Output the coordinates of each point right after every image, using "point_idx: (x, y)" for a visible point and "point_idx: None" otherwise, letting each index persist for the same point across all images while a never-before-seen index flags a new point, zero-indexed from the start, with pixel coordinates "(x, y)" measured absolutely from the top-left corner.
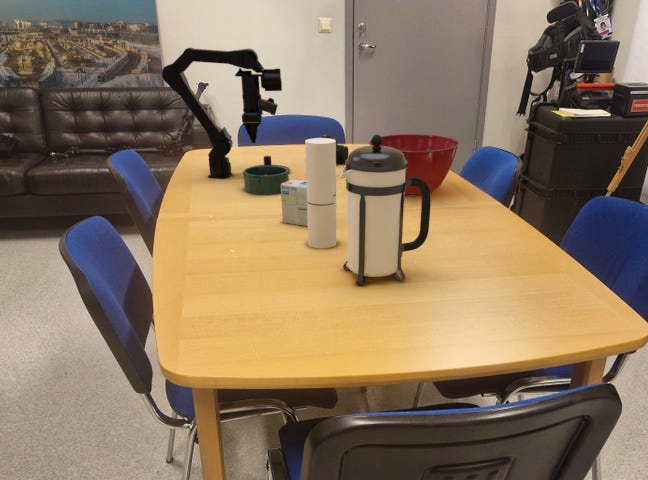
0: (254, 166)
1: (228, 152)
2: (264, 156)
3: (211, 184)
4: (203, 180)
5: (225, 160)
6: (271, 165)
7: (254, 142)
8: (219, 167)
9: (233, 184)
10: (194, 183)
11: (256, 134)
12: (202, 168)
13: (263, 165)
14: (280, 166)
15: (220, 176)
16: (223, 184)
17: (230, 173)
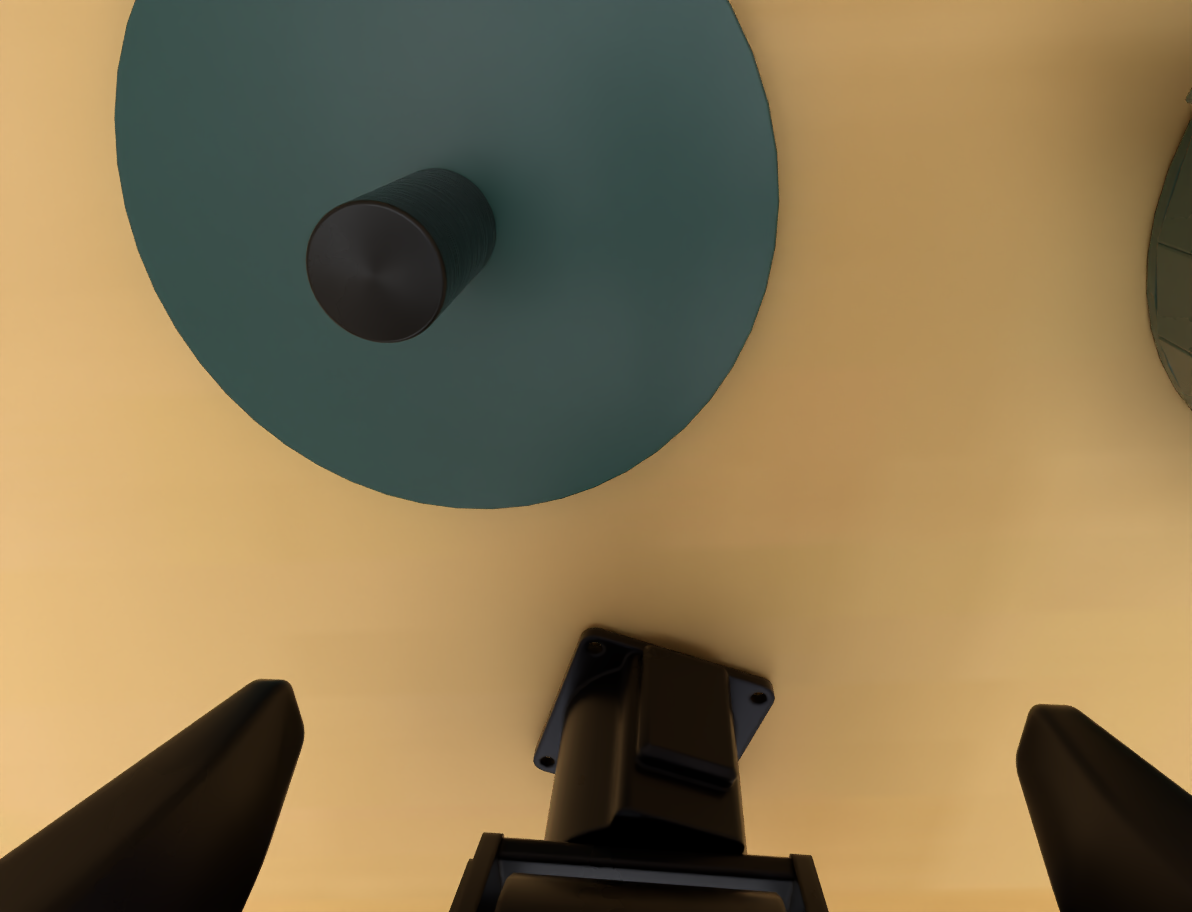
0: (293, 422)
1: (782, 904)
2: (390, 328)
3: (983, 772)
4: (802, 827)
5: (734, 826)
6: (183, 183)
7: (1073, 729)
8: (741, 809)
9: (1050, 599)
10: (903, 877)
11: (237, 739)
12: (334, 842)
13: (210, 306)
14: (220, 16)
15: (737, 727)
16: (1017, 684)
17: (676, 658)
